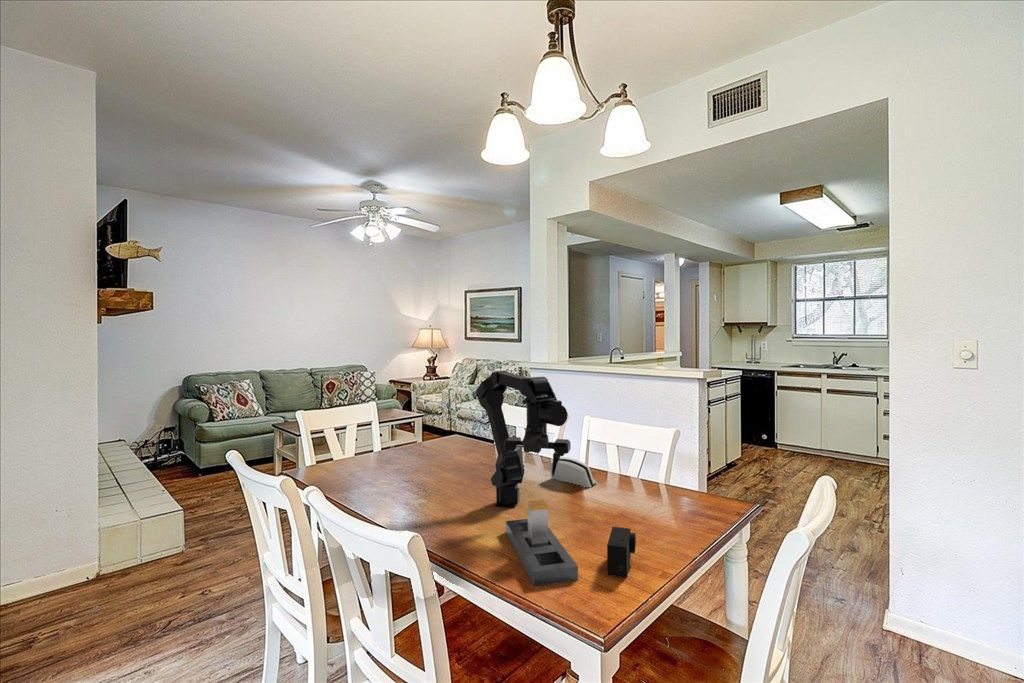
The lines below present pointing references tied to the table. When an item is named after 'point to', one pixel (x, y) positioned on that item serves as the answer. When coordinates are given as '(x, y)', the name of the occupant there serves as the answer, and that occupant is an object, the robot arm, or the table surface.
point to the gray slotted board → (541, 556)
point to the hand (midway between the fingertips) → (537, 474)
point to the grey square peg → (537, 523)
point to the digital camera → (620, 551)
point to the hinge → (573, 472)
